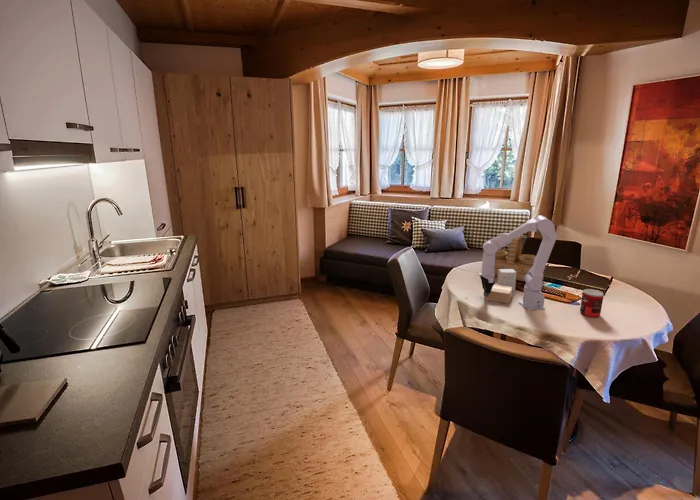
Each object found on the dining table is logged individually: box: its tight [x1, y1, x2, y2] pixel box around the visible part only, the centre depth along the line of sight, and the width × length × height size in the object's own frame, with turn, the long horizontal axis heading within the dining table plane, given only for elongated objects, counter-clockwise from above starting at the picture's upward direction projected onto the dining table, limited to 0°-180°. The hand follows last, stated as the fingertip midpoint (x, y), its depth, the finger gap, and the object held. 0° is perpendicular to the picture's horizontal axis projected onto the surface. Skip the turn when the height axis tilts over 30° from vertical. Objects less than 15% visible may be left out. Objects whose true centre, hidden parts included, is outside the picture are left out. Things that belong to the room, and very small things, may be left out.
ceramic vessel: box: [494, 235, 537, 282], centre depth 215 cm, size 34×18×25 cm, turn 48°
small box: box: [496, 269, 517, 291], centre depth 198 cm, size 8×6×10 cm
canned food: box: [579, 288, 605, 318], centre depth 166 cm, size 8×8×11 cm
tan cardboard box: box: [483, 285, 510, 304], centre depth 181 cm, size 12×6×9 cm, turn 60°
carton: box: [491, 283, 513, 303], centre depth 188 cm, size 12×9×5 cm
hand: (486, 291), depth 182 cm, fingers open, 5 cm apart
